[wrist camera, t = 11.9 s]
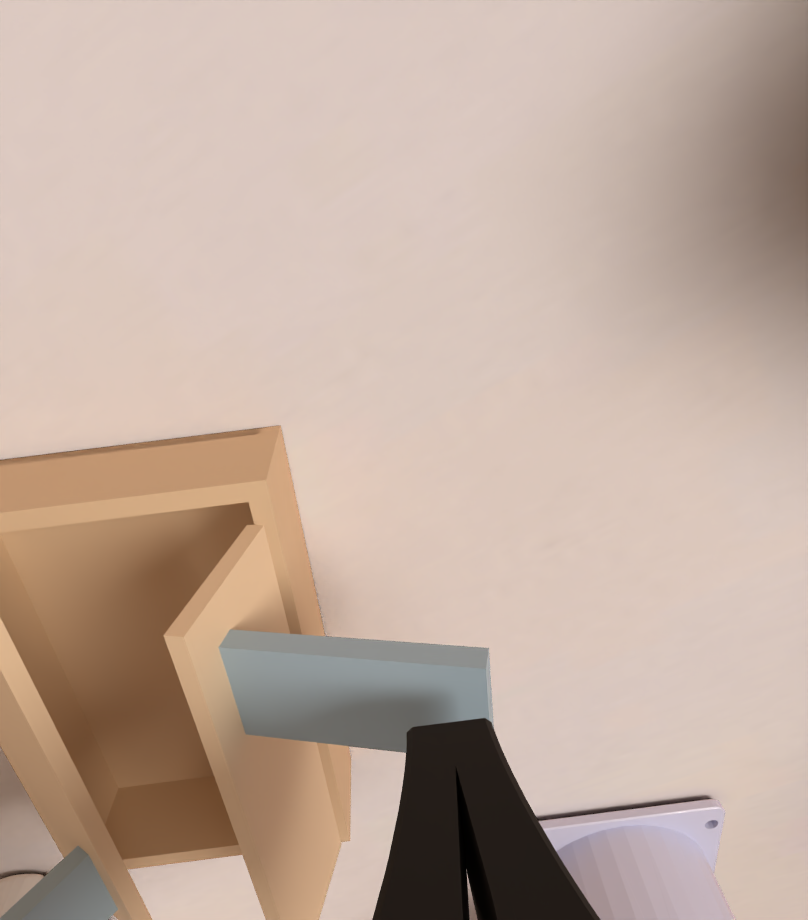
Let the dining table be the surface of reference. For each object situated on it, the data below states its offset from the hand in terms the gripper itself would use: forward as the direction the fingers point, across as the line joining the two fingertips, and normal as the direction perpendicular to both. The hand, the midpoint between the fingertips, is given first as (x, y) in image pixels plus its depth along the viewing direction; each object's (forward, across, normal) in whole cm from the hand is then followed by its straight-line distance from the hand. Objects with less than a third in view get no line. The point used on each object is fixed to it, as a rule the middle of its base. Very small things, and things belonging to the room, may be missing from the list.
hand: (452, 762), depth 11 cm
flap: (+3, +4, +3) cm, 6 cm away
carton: (+8, +8, +3) cm, 12 cm away
